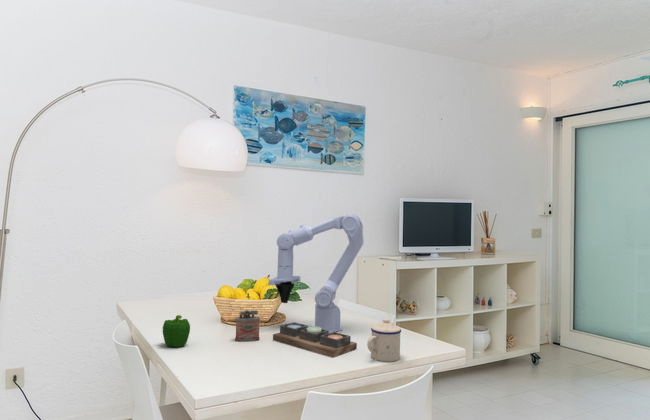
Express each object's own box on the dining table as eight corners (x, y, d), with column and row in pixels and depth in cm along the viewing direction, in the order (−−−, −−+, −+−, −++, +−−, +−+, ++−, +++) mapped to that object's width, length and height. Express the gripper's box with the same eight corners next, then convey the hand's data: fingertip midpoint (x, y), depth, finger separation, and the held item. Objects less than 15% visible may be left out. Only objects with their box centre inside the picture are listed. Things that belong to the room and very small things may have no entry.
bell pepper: (161, 342, 154) (162, 311, 154) (188, 341, 157) (189, 310, 157) (162, 350, 146) (163, 317, 146) (190, 348, 149) (191, 316, 149)
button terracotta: (334, 339, 154) (334, 333, 154) (345, 342, 151) (346, 336, 151) (324, 342, 150) (324, 336, 150) (336, 345, 147) (336, 339, 147)
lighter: (235, 342, 157) (236, 311, 157) (234, 339, 160) (235, 309, 160) (260, 341, 159) (260, 311, 159) (258, 338, 162) (259, 308, 162)
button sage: (313, 330, 160) (313, 325, 160) (324, 333, 156) (324, 328, 156) (303, 333, 156) (303, 328, 156) (314, 336, 153) (314, 330, 153)
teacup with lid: (384, 351, 151) (385, 314, 151) (406, 358, 144) (407, 320, 144) (357, 358, 143) (358, 319, 143) (378, 366, 136) (379, 325, 136)
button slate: (293, 329, 165) (294, 323, 165) (304, 331, 162) (304, 326, 162) (284, 331, 162) (284, 326, 162) (294, 334, 159) (294, 328, 159)
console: (297, 333, 169) (297, 320, 169) (356, 349, 152) (356, 334, 152) (272, 340, 160) (273, 326, 160) (332, 357, 143) (333, 342, 143)
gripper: (291, 263, 185) (290, 298, 185) (263, 266, 174) (262, 303, 174) (304, 265, 180) (303, 301, 180) (276, 268, 169) (275, 306, 169)
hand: (284, 302), depth 177 cm, fingers closed
